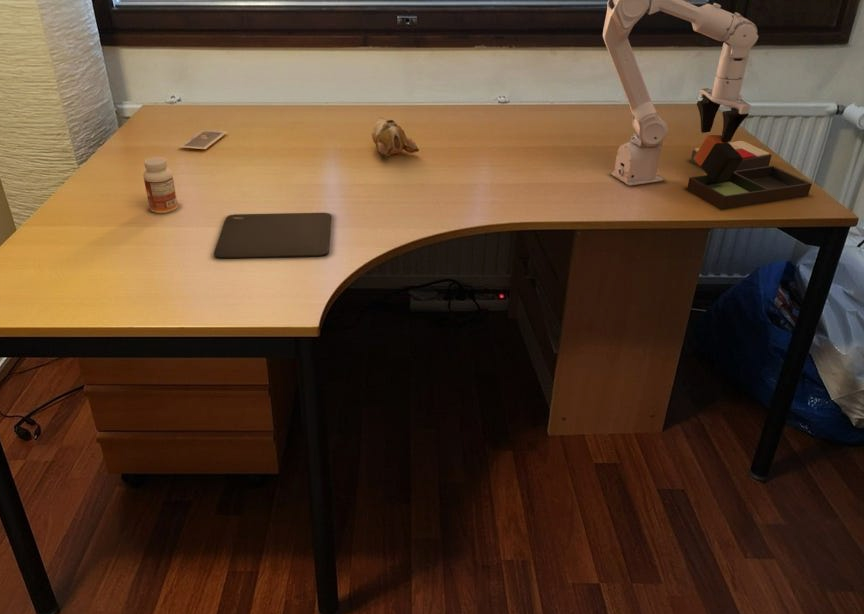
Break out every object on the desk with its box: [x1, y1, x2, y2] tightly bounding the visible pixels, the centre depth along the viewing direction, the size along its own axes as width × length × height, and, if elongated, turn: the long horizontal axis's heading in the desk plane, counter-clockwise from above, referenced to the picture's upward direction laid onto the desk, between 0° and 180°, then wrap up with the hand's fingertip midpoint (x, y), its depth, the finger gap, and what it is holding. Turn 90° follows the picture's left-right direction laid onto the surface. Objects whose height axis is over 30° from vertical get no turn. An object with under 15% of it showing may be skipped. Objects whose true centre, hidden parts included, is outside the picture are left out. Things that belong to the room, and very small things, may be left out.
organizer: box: [686, 165, 813, 211], centre depth 171 cm, size 24×12×3 cm, turn 108°
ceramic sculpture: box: [371, 116, 420, 158], centre depth 194 cm, size 11×9×15 cm
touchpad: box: [178, 128, 229, 150], centre depth 203 cm, size 8×15×2 cm, turn 166°
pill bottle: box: [143, 156, 178, 214], centre depth 164 cm, size 6×6×11 cm
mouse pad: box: [213, 212, 332, 259], centre depth 155 cm, size 23×20×1 cm
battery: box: [694, 134, 743, 182], centre depth 172 cm, size 4×7×10 cm
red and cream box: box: [690, 140, 772, 171], centre depth 186 cm, size 11×4×15 cm
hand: (715, 136), depth 173 cm, fingers open, 7 cm apart
